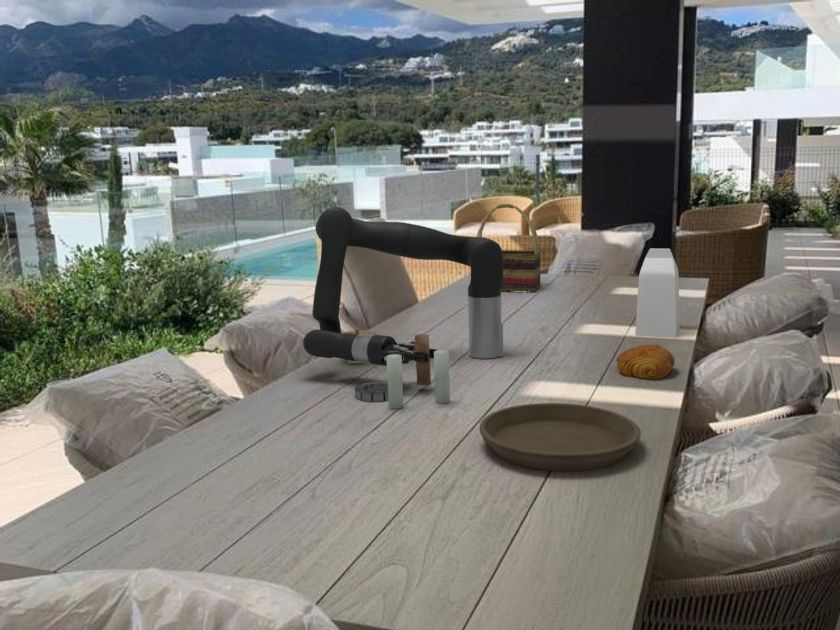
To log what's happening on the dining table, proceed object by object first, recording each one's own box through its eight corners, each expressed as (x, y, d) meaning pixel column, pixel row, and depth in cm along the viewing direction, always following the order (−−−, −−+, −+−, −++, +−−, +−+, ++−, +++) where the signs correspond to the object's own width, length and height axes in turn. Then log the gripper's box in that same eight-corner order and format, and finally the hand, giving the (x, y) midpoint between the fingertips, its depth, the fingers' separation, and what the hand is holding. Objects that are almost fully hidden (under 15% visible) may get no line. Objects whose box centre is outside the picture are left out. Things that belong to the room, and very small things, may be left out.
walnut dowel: (430, 381, 208) (428, 333, 205) (431, 384, 204) (429, 336, 202) (416, 381, 208) (414, 334, 205) (417, 385, 204) (415, 337, 202)
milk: (635, 335, 256) (636, 250, 251) (640, 327, 267) (641, 246, 262) (676, 337, 252) (678, 251, 247) (679, 329, 262) (682, 246, 257)
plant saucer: (646, 428, 175) (646, 407, 174) (632, 485, 146) (632, 460, 145) (500, 417, 185) (500, 397, 184) (460, 468, 156) (460, 445, 155)
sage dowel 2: (449, 399, 198) (447, 349, 196) (450, 403, 195) (449, 353, 193) (434, 399, 198) (433, 350, 196) (436, 404, 195) (434, 353, 193)
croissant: (677, 375, 220) (680, 345, 219) (668, 382, 206) (670, 350, 205) (622, 369, 226) (624, 340, 225) (609, 376, 212) (611, 344, 211)
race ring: (399, 387, 209) (399, 380, 209) (401, 400, 199) (401, 393, 198) (355, 389, 209) (355, 382, 208) (355, 402, 198) (354, 395, 198)
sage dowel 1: (403, 404, 196) (401, 354, 194) (403, 408, 193) (401, 357, 190) (388, 404, 196) (386, 354, 193) (388, 409, 192) (386, 358, 190)
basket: (471, 291, 343) (469, 205, 336) (480, 285, 357) (478, 202, 350) (535, 293, 335) (535, 204, 328) (542, 287, 348) (541, 202, 342)
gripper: (357, 341, 205) (417, 347, 196) (388, 329, 217) (446, 334, 208) (358, 370, 207) (418, 378, 198) (390, 357, 219) (448, 363, 210)
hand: (432, 355), depth 203 cm, fingers closed on walnut dowel, 3 cm apart
